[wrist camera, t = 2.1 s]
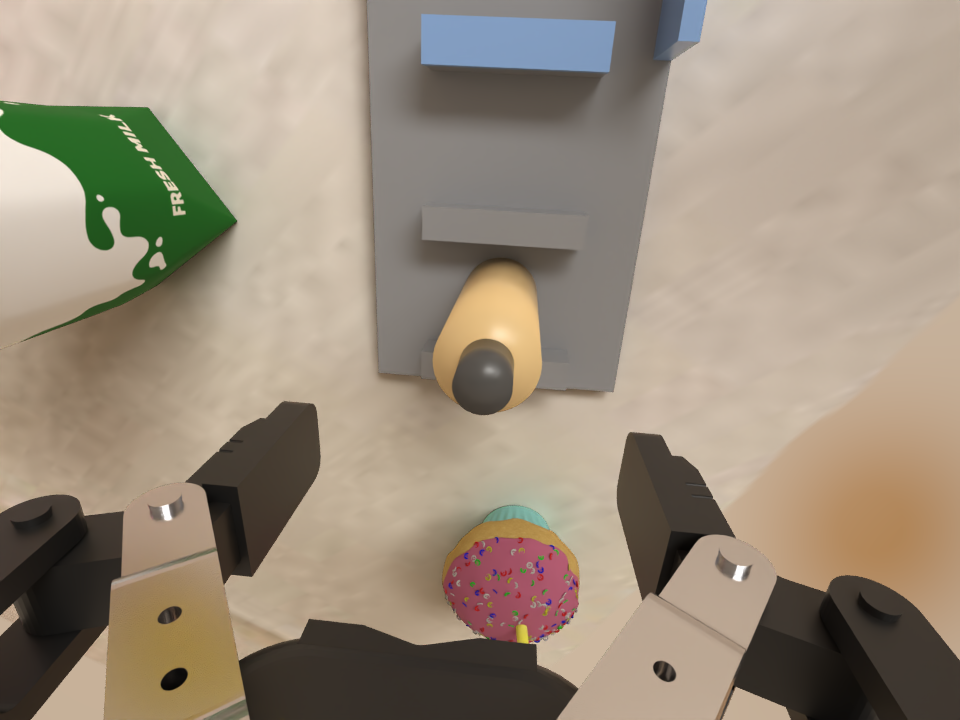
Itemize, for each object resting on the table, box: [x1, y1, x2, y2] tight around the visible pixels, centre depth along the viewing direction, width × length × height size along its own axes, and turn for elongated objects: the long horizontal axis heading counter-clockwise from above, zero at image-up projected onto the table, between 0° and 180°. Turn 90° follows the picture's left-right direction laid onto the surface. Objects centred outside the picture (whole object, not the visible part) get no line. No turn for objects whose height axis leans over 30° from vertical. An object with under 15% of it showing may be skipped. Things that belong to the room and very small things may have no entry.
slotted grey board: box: [367, 0, 707, 392], centre depth 23 cm, size 14×26×5 cm, turn 177°
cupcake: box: [442, 506, 579, 644], centre depth 29 cm, size 9×8×12 cm
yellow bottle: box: [433, 258, 542, 415], centre depth 22 cm, size 4×4×12 cm
